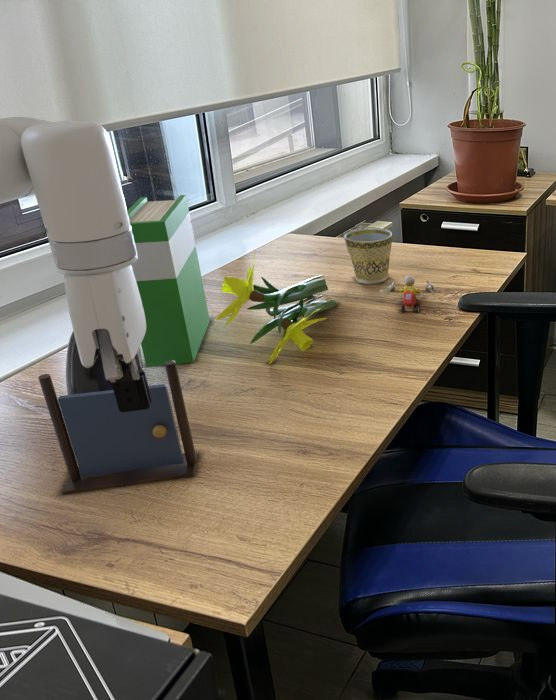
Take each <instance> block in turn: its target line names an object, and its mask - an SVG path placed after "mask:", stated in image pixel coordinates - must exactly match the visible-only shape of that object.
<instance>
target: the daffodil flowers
mask: <svg viewBox="0 0 556 700" xmlns="http://www.w3.org/2000/svg"><path fill="white" fill-rule="evenodd" d="M255 264H256V251H254V252H253V264H252V268H251V267H250V266H248V267H247V273H246V274H247V275H246V280H245V279H242V278H238V277H233V276H229V275H226V276H224V278H223V279H224V280H223V282H222V286H221V285H220V286H221V288H220V291H221V293H227V294H231V295H236V296H237V297H236V299H234V300H233V301H232V302H231V303H230V304H229V305H228V306H227V307H226V308H224V310H222V311H221V313H219V314H218V315H217V316H216V318H214V321H217V320H222V319H225V318H226V317H228V319H227V321H226V322H225V324H224V326H223V328H226V326H228V324H230V323H231V322H233V321H234V320H235V318H236V317H237V315H238V314H239V312H240V311H241V309H242V307H243V305H245V304H247V303H248V301H251V302H254V303H257V304H254V305H252V306H249V307H248V308H246V310H249V311H252V310H253V311H255V310H256V311H257V310H265V312H266V313H267V315H269V316H270V317H273V319H272V320H270V321H269V322H267V323H266V324H264V325H263V326H262V327H261V328H260V329H259V330H258V332H256V334H255V335H254V336H253V338H252V339H251V341H250V343H249V344H250V345H252V344H254V343H256V342H257V341H258V340H259V339H261V338H263V337H264V336H265V335H267V334H268V333H270V331H272V330H274V329H276V328H277V330H278V334H279V335H281V334H282V330H283V332H284V333H283V335H282V336H281V339H280V341H279V343H278V344H277V345H276V347H275V348H274V349H273V350H272V353H271V355H270V358H269V365H270V364H272V363H273V362H274V360H275V359H276V358H277V357H278V355H279V354H280V353H281V351H282V350H283V348H284V347H285V346H286V344H287V343H288V341H291V342H292V343H293V344H295V345H296V346H297V347H298V349H299V350H300V352H304V351H307V350H309V348H311V347H312V346H311V345H313V343H314V339H313V338H311V337H310V336H308V335H306V333H305V331H304V329H306V328H307V327H309V326H311V325H313V324H315V323H317V322H321V321H325V320H327V319H328V317H320V318H314V319H310V317H311V316H313V315H315V314H318V313H321V312H324V311H326V310H329V309H331V308H334V307H336V306H337V301H336V300H335V299H334V298H333V299H330V300H327V301H325V300H324V299H322V300H319V299H321V298H322V297H324V294H320V293H323V292H326V291H329V287H328V285H327V281H326V279H325V278H323V277H324V274H319V275H316V276H313V277H310V278H308V279H305V280H303V281H301V282H298V283H296V284H294V285H291V286H288V287H285V288H284V289H280V288H279V289H278V288H277V287H275V286H274V285H273V284H271V283H270V282H269V281H268V280H267V279H266V278H264V277H263V276H261V277H260V278H261V280H262V282H263V283H264V285H265V286H266V287H264V286H259V285H257V284H254V273H255ZM317 294H320V295H317ZM296 302H297V303H296ZM291 303H294V304H291ZM287 304H290V305H287ZM283 305H285V306H283ZM281 306H282V307H281ZM272 308H273V309H272ZM301 317H302V318H301ZM299 318H300V320H299ZM308 319H310V320H308ZM298 320H299V321H298Z"/></svg>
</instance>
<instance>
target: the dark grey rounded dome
mask: <svg viewBox="0 0 556 700" xmlns="http://www.w3.org/2000/svg"><path fill="white" fill-rule="evenodd" d="M65 359H66V360H65V384H66V393H67V394H66V395H73V394H82V393H91V392H100V391H108V390H113V387H112V383H111V381H110V380H108V381H107V380H106V378H105V373H104V368H103V363H102V357H101V352H100V354H99V356H98V357H97V359H96V361H95V363H94V365H93V366H92V367H90V368H86V367H84V366H83V365H82V363H81V360H80V356H79V352H78V348H77V344H76V340H75V336H74V331H73V330H72V332H71V334H70V337H69V340H68V344H67V350H66V358H65ZM140 371H144V369H143V370H140ZM140 371H139V372H140Z"/></svg>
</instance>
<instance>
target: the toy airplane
mask: <svg viewBox="0 0 556 700" xmlns="http://www.w3.org/2000/svg"><path fill="white" fill-rule="evenodd" d="M415 281H416V280H415V277H414V276H412V275H406V276H405V277H404V279H403V282H404V284H405V286H404V287H403V288H399V289H396V286H395V283H396V281H395V280H392V283H390V284H387V287H386V289H379V294H386V296H389V295H390V294H400V295H401V296H403V299H402V304H403V305H401V311H400V312H401V314H402V313H405V312H414V311H415V313H419V310H420V308H419V305H417V297H418V296H421V297H422V296H424V295H425V294H431V296H435V294H442V289H435V287H434V285H433V284H432V283H430V282H429V280H428V279H427V280H425V282H426V285H425V289H421V288H418V289H417V288H416V287H415V286H414V285H415ZM414 306H415V307H414Z"/></svg>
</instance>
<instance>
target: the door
mask: <svg viewBox="0 0 556 700" xmlns="http://www.w3.org/2000/svg"><path fill="white" fill-rule="evenodd" d="M148 386H149V390H150V394H151V398H152V401H151V404H150V407H149V409H145V410H138V411H130V412H120V411H119V409H118V405H117V401H116V398H115V394H114V390H108V391H100V392H91V393H82V394H73V395H68V394H66V395H59V396H58V397H57V399H58V402H59V406H60V409H61V412H62V415H63V419H64V422H65V425H66V428H67V432H68V435H69V438H70V441H71V445H72V448H73V451H74V454H75V458H76V461H77V464H78V467H79V470H80V473H81V476H82V477H86V476H94V475H101V474H108V473H116V472H123V471H131V470H138V469H145V468H153V467H160V466H168V465H175V464H182V463H183V461H184V459H183V455H182V454H183V450H182V448H181V442H180V439H179V438H180V437H179V433H178V429H177V424H176V421H175V415H174V411H173V407H172V403H171V398H170V394H169V389H168V385H167V383H161V384H153V385H148Z"/></svg>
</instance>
